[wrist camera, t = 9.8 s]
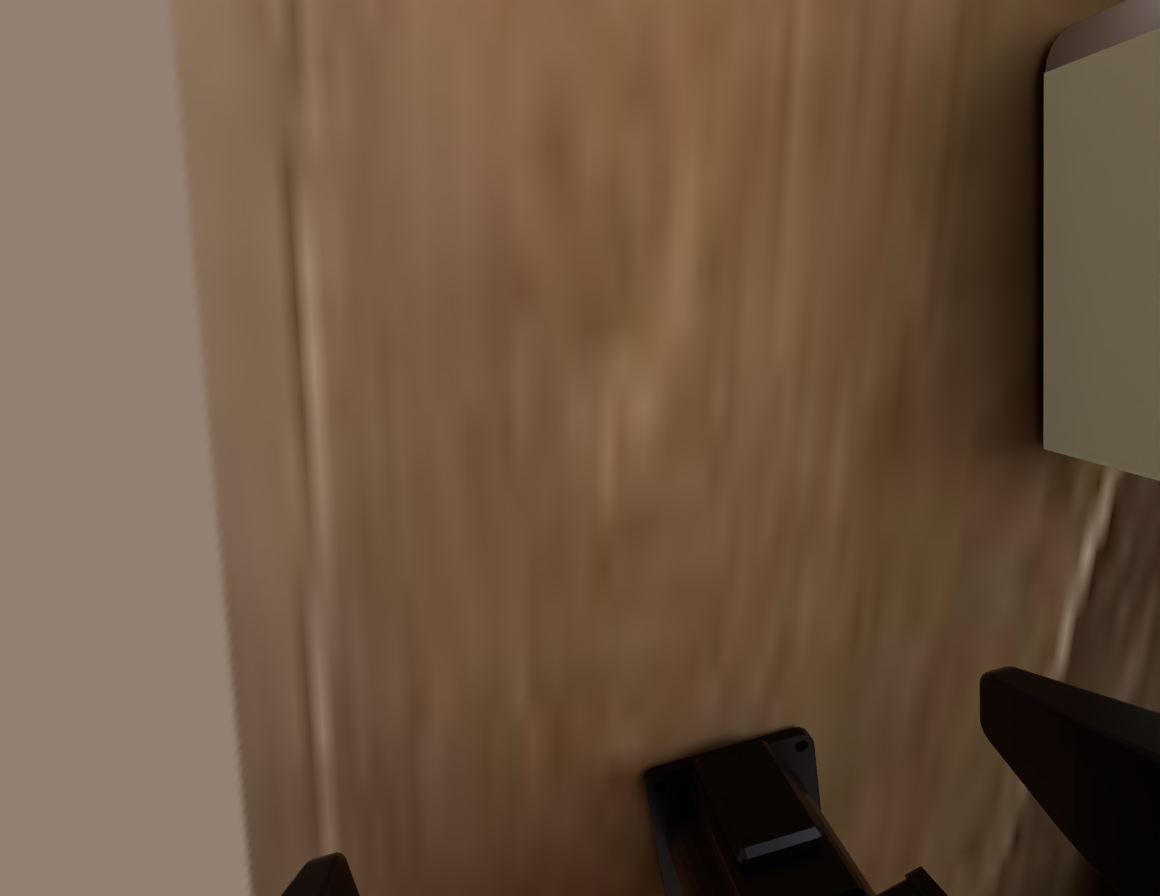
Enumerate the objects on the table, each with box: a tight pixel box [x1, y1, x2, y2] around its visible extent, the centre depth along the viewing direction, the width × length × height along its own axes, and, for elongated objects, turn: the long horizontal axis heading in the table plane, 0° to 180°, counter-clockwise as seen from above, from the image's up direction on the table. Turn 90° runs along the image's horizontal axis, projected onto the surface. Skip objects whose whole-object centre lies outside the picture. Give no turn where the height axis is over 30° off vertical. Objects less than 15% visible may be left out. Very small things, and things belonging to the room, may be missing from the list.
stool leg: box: [1043, 0, 1160, 481], centre depth 18 cm, size 13×2×4 cm, turn 12°
